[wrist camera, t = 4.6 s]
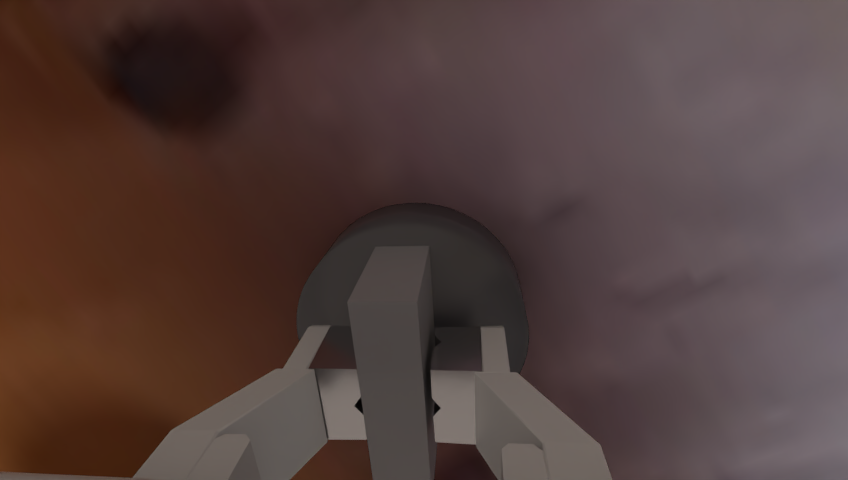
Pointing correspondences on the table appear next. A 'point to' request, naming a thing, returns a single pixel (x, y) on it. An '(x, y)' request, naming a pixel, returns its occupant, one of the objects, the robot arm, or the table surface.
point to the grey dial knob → (411, 316)
